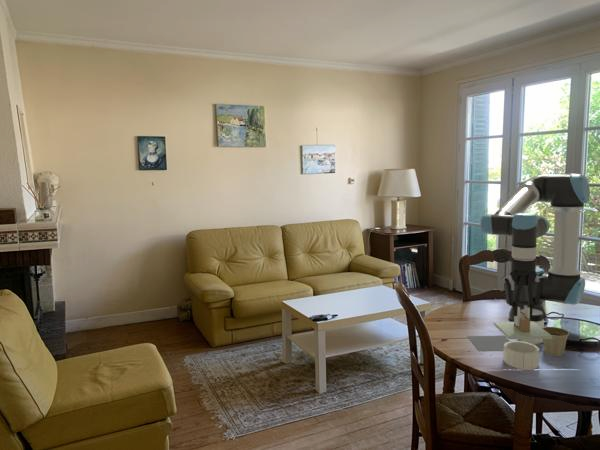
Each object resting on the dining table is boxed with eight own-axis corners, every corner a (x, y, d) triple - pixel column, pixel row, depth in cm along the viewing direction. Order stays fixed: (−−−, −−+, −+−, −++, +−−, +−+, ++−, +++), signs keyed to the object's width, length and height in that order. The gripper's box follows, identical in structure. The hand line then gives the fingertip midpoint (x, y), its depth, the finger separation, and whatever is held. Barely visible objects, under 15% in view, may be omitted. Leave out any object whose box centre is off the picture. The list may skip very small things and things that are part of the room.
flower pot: (533, 349, 167) (534, 327, 166) (557, 347, 168) (558, 325, 167) (549, 360, 158) (550, 336, 157) (574, 358, 159) (575, 334, 158)
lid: (533, 324, 161) (533, 309, 160) (552, 339, 147) (552, 323, 146) (493, 324, 162) (494, 310, 161) (508, 339, 148) (509, 323, 148)
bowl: (530, 356, 161) (530, 340, 161) (544, 370, 150) (545, 353, 150) (499, 356, 162) (499, 341, 161) (511, 370, 151) (511, 353, 150)
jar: (532, 346, 170) (533, 316, 168) (514, 339, 177) (514, 310, 175) (547, 342, 173) (549, 312, 172) (529, 335, 181) (530, 307, 179)
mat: (504, 336, 180) (504, 335, 180) (519, 352, 165) (519, 350, 165) (466, 337, 181) (466, 336, 181) (478, 352, 167) (478, 351, 166)
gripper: (542, 255, 155) (539, 320, 157) (496, 256, 156) (494, 321, 159) (552, 260, 147) (550, 328, 150) (504, 261, 148) (502, 328, 151)
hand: (521, 324), depth 154 cm, fingers closed on lid, 2 cm apart
